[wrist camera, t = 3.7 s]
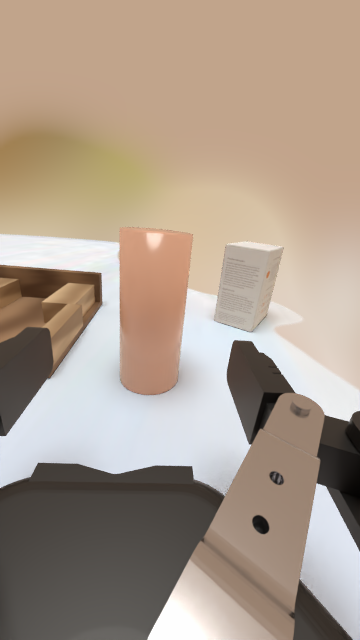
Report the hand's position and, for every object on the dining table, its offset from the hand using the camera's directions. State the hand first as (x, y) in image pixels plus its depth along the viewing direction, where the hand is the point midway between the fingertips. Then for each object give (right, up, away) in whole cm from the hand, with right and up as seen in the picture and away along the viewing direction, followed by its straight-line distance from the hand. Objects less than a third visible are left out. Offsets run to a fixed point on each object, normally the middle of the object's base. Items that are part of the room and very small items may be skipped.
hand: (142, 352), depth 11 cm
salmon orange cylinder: (-1, -3, +11) cm, 11 cm away
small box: (+11, +1, +26) cm, 28 cm away
